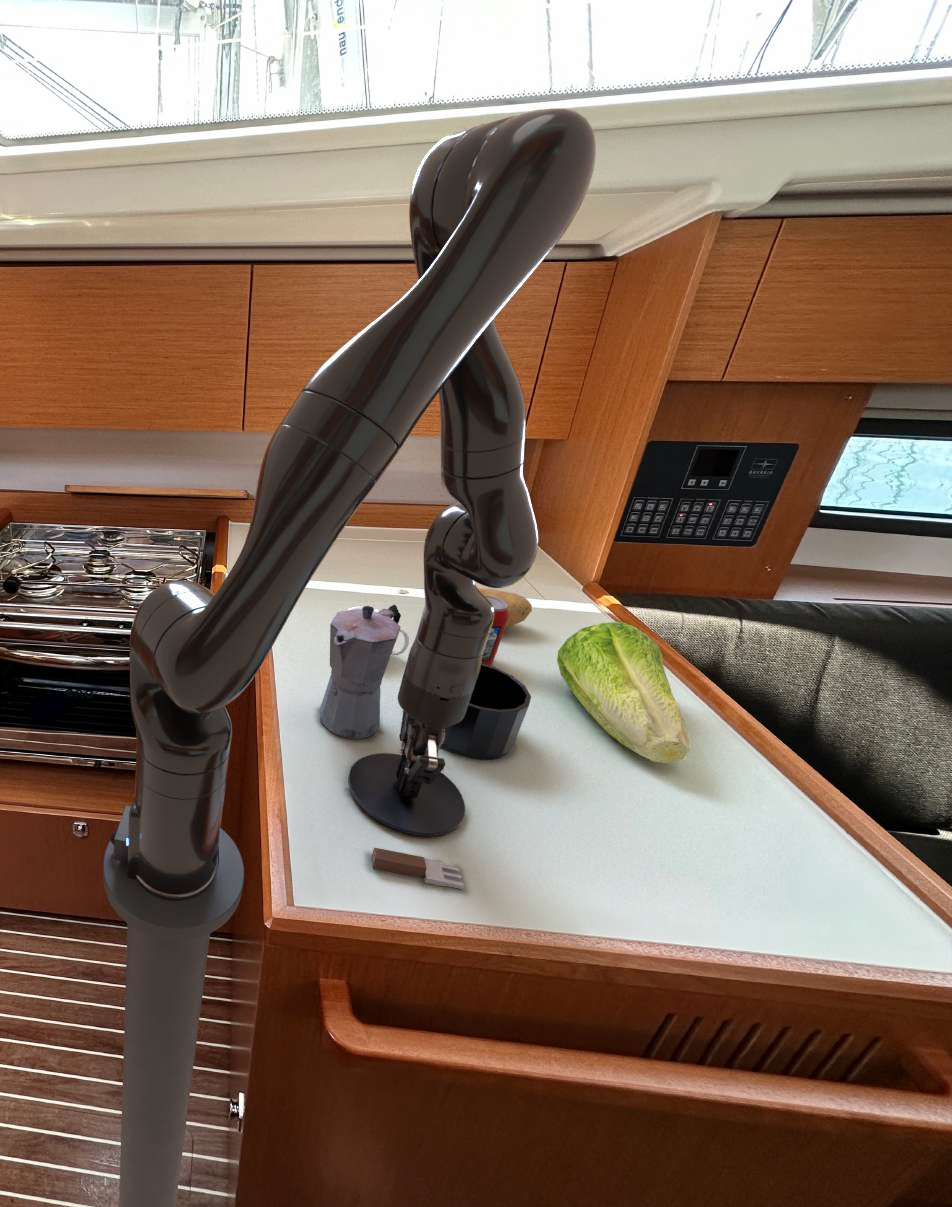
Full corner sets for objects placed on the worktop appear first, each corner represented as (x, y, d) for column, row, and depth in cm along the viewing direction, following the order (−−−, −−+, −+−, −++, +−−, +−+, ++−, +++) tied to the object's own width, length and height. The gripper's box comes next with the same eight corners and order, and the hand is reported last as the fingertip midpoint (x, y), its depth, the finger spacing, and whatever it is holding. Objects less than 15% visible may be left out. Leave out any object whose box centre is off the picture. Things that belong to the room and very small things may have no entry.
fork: (373, 872, 69) (375, 862, 68) (370, 852, 71) (373, 843, 71) (462, 890, 67) (466, 880, 67) (457, 870, 70) (461, 860, 69)
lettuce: (702, 793, 86) (586, 781, 89) (631, 677, 105) (538, 670, 109) (750, 723, 78) (620, 713, 81) (664, 611, 97) (562, 606, 100)
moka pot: (292, 724, 92) (313, 607, 83) (347, 687, 102) (371, 578, 93) (348, 757, 86) (377, 635, 77) (401, 714, 96) (433, 600, 86)
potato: (531, 643, 117) (545, 606, 114) (454, 634, 119) (465, 597, 116) (514, 619, 126) (526, 584, 122) (442, 611, 128) (452, 576, 124)
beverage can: (444, 658, 111) (461, 600, 105) (461, 647, 115) (479, 590, 109) (481, 675, 106) (502, 615, 101) (498, 662, 110) (518, 603, 105)
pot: (424, 750, 88) (439, 702, 84) (410, 698, 99) (423, 654, 96) (524, 767, 86) (544, 718, 82) (498, 711, 97) (514, 666, 93)
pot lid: (351, 826, 75) (359, 792, 72) (344, 751, 87) (351, 720, 85) (474, 850, 72) (488, 815, 70) (449, 769, 85) (460, 737, 82)
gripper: (397, 641, 78) (370, 747, 86) (414, 705, 66) (381, 821, 74) (460, 650, 77) (427, 756, 84) (489, 716, 64) (447, 834, 72)
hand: (406, 786), depth 79 cm, fingers closed on pot lid, 2 cm apart
